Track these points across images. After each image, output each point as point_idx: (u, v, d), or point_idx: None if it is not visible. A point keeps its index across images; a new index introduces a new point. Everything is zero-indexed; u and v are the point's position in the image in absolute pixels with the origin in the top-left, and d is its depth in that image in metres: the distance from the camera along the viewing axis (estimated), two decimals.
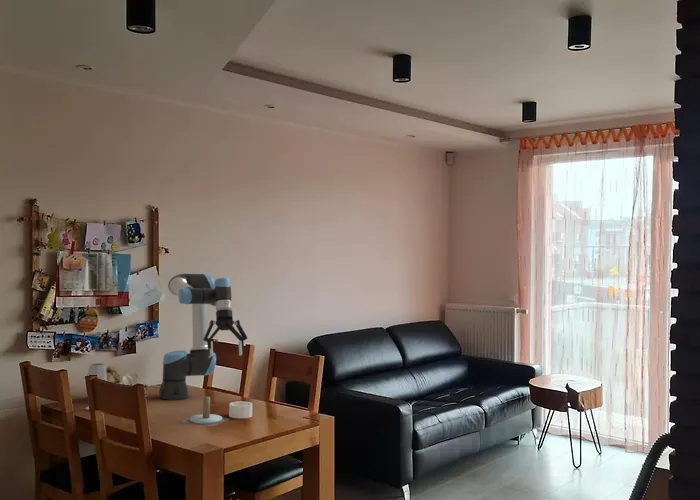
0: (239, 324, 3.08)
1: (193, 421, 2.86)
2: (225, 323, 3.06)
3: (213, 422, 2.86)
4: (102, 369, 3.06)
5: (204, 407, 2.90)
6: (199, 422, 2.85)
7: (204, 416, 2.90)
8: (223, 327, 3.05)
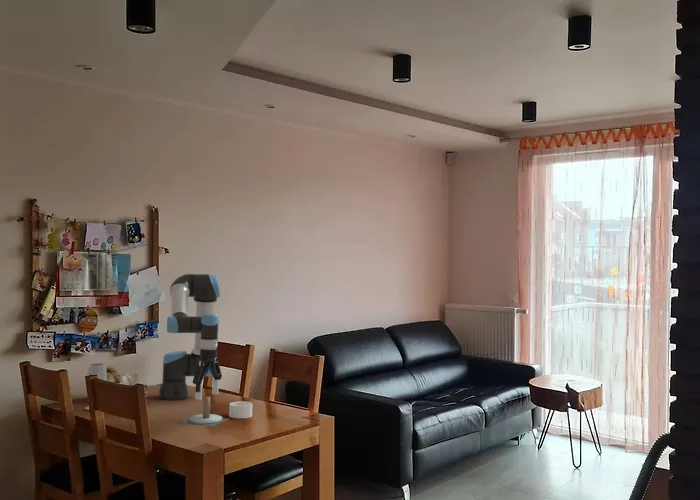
0: (218, 362, 2.98)
1: (193, 421, 2.86)
2: None
3: (213, 422, 2.86)
4: (102, 369, 3.06)
5: (204, 407, 2.90)
6: (199, 422, 2.85)
7: (204, 416, 2.90)
8: (209, 367, 2.90)
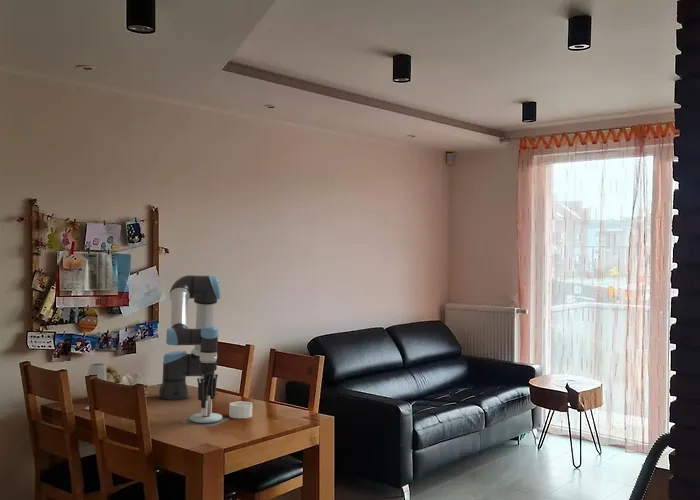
0: (216, 379, 2.97)
1: (193, 420, 2.86)
2: (210, 374, 2.92)
3: (213, 421, 2.86)
4: (102, 369, 3.06)
5: None
6: (199, 421, 2.85)
7: None
8: None
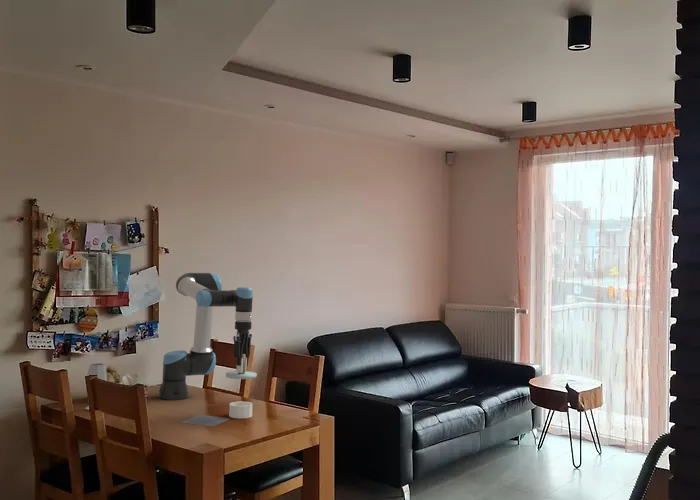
0: (250, 338, 3.08)
1: (229, 376, 2.97)
2: (245, 333, 3.03)
3: (249, 377, 2.97)
4: (102, 369, 3.06)
5: None
6: (235, 377, 2.96)
7: None
8: None
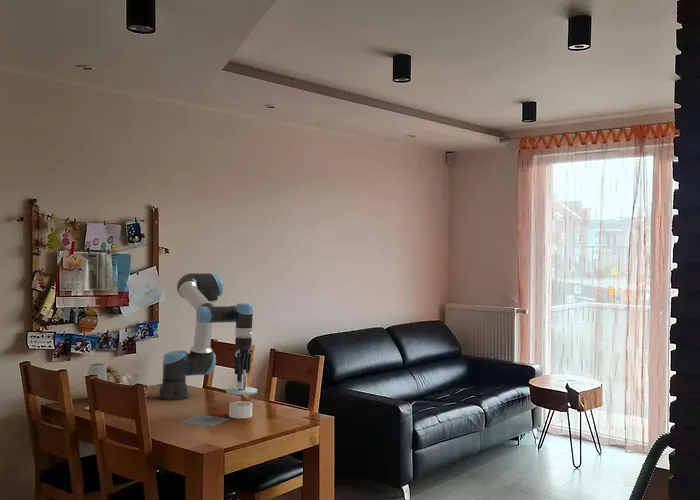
0: (250, 354, 3.08)
1: (230, 392, 2.97)
2: (245, 349, 3.03)
3: (249, 393, 2.97)
4: (102, 369, 3.06)
5: None
6: (236, 393, 2.96)
7: None
8: None
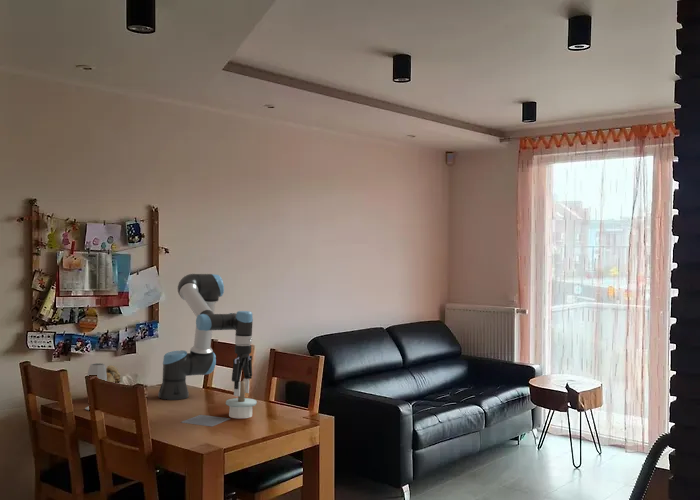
0: (251, 360, 3.08)
1: (229, 404, 2.97)
2: None
3: (248, 405, 2.97)
4: (102, 369, 3.06)
5: None
6: (235, 405, 2.96)
7: (239, 400, 3.01)
8: None
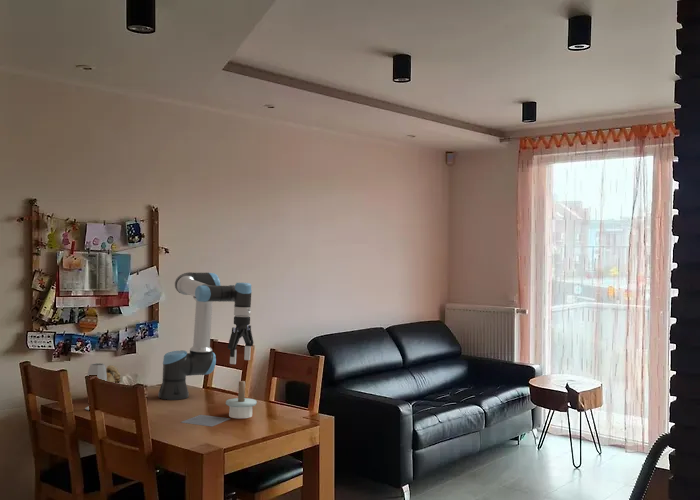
0: (250, 330, 3.10)
1: (229, 404, 2.97)
2: None
3: (248, 405, 2.97)
4: (102, 369, 3.06)
5: (239, 391, 3.01)
6: (235, 405, 2.96)
7: (239, 400, 3.01)
8: None
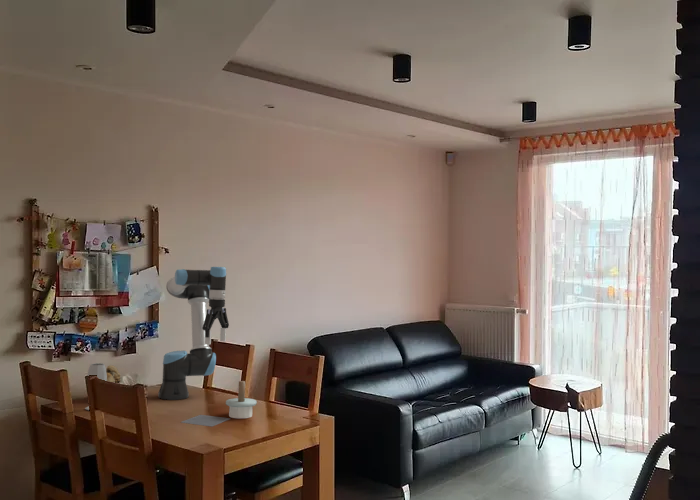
0: (225, 312, 3.22)
1: (229, 404, 2.97)
2: None
3: (248, 405, 2.97)
4: (102, 369, 3.06)
5: (239, 391, 3.01)
6: (235, 405, 2.96)
7: (239, 400, 3.01)
8: (217, 316, 3.15)
